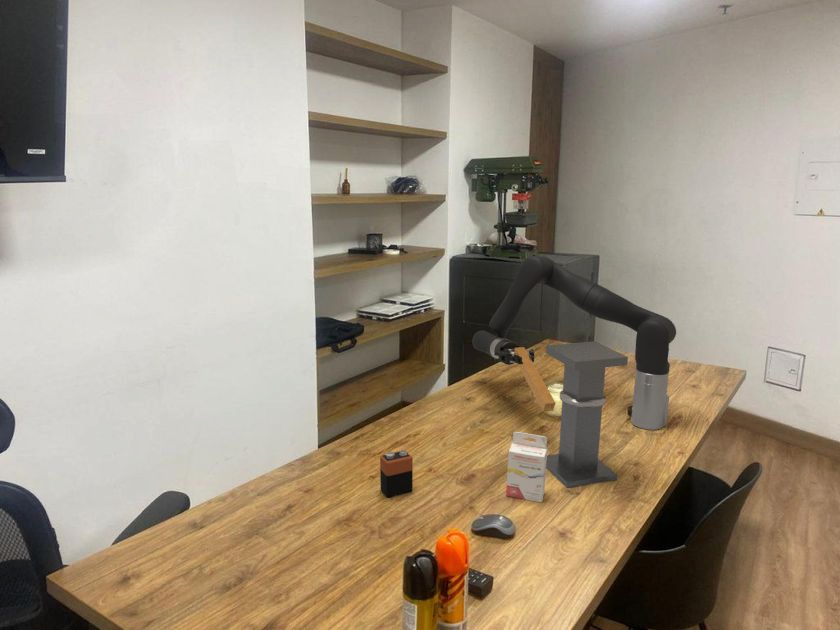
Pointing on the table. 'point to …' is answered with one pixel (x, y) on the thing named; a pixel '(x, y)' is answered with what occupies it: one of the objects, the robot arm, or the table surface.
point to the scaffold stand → (582, 412)
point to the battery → (396, 473)
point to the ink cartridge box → (527, 467)
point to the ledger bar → (535, 381)
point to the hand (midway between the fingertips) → (526, 360)
